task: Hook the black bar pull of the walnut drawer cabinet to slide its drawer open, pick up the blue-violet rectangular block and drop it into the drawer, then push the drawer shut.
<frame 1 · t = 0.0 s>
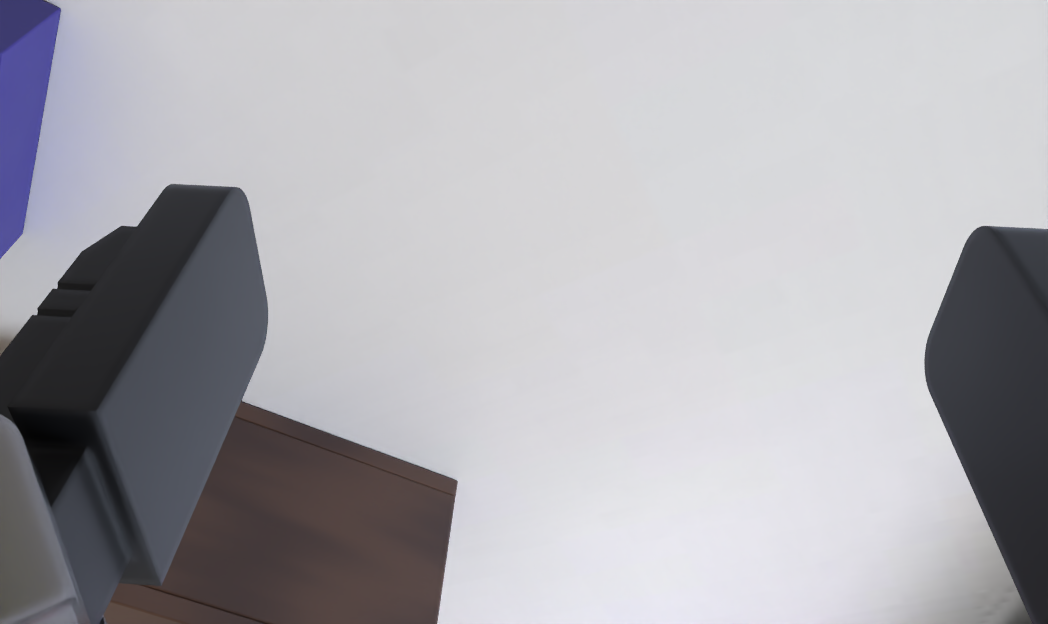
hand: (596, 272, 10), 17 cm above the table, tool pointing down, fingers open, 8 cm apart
cabinet: (235, 517, 41), on the table
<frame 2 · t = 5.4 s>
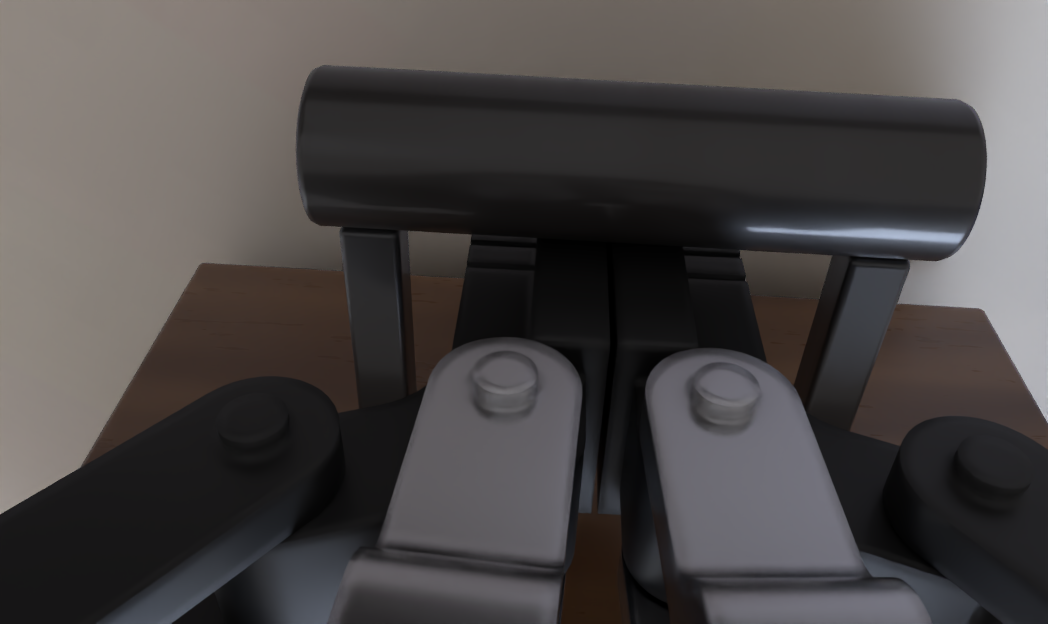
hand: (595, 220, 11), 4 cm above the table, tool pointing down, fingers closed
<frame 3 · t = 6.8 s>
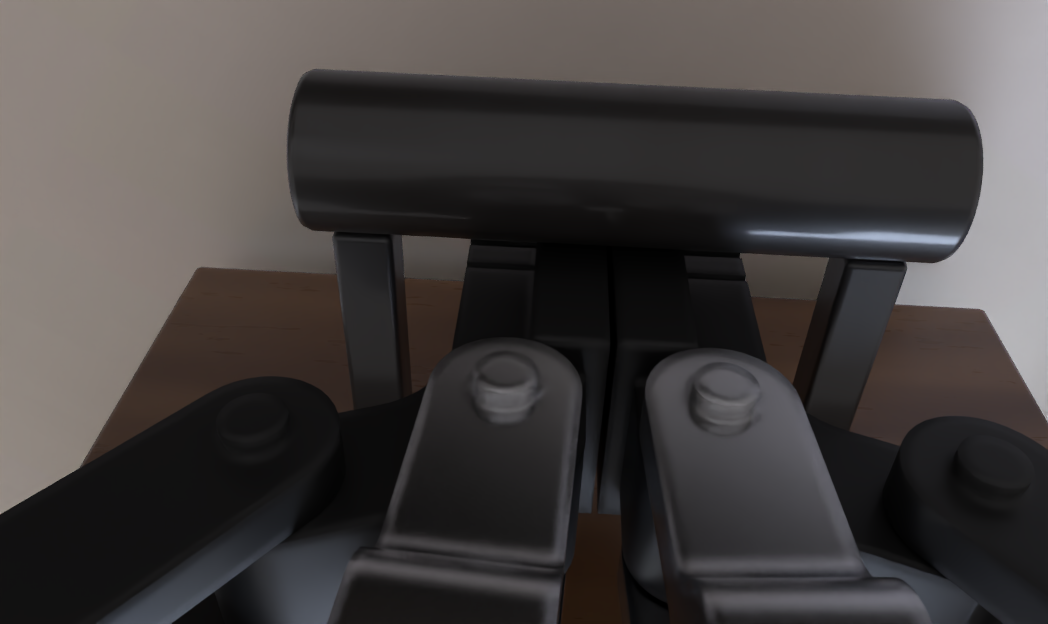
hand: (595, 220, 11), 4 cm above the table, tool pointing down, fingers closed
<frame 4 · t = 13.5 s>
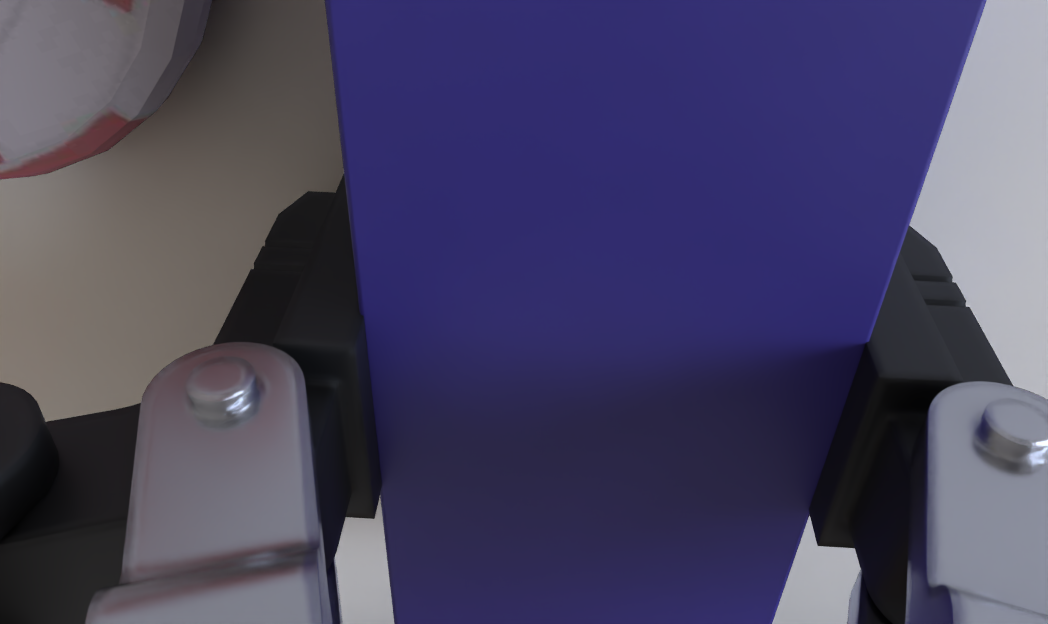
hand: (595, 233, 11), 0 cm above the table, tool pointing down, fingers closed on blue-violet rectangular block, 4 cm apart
blue-violet rectangular block: (597, 218, 11), on the table, touching gripper
when the fingers open (5 cm above the table, at t = 21.1 s): blue-violet rectangular block drops 3 cm, resting on drawer.
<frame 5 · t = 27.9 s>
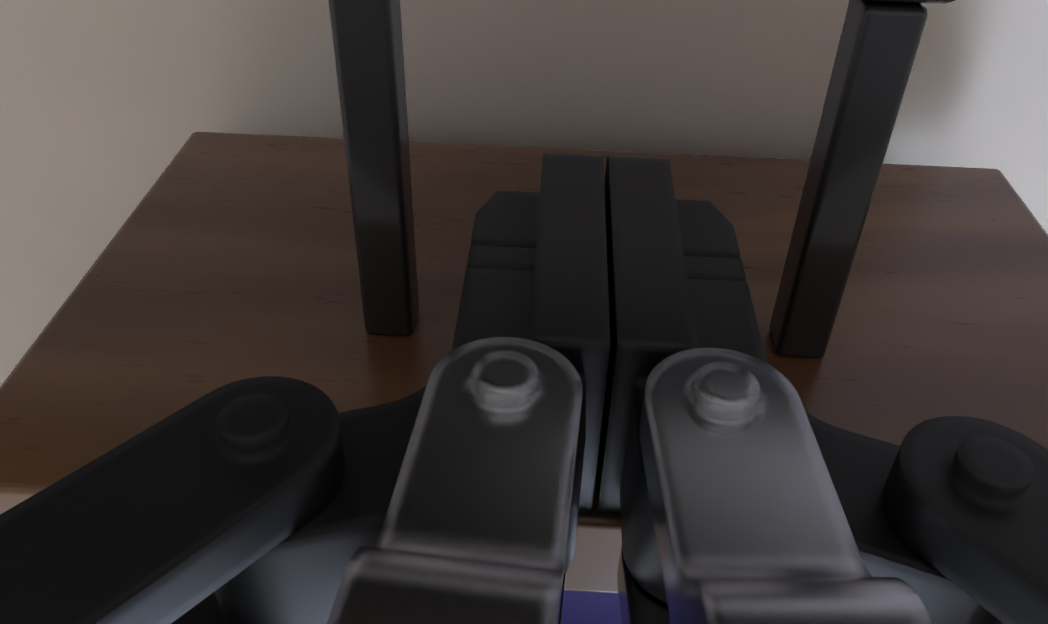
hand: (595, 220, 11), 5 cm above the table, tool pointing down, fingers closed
drawer: (573, 504, 15), point 5 cm above the table, slide at 10.4 cm, touching blue-violet rectangular block
blue-violet rectangular block: (568, 460, 18), point 2 cm above the table, touching drawer
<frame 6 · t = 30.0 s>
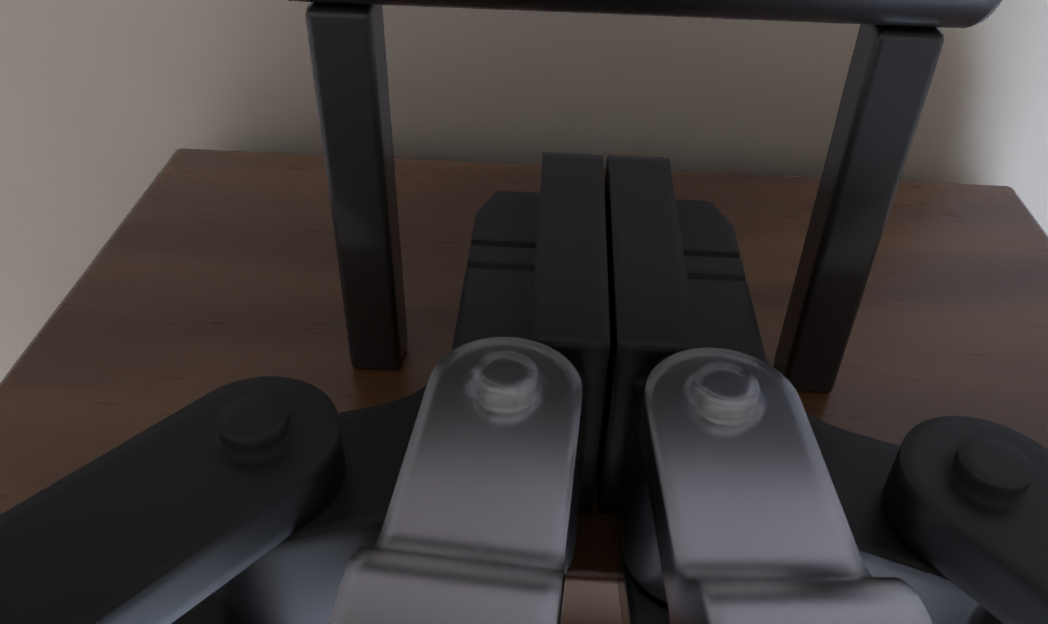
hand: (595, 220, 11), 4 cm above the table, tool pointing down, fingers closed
drawer: (570, 534, 14), point 5 cm above the table, slide at 0.8 cm, touching gripper, hand, blue-violet rectangular block
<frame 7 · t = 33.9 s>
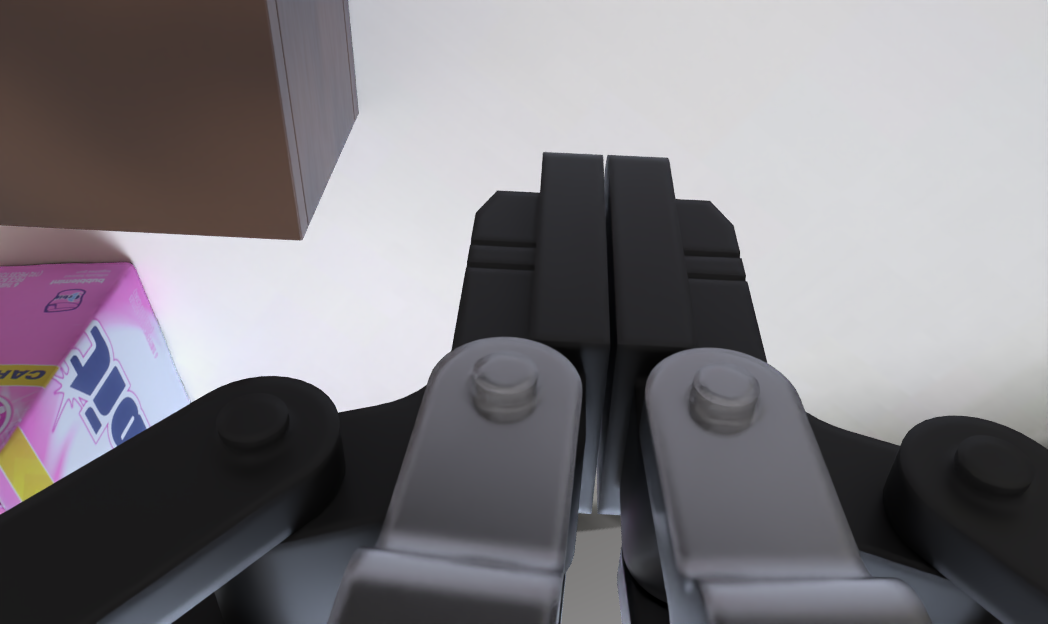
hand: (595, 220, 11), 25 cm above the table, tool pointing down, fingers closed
gum box: (136, 423, 50), on the table
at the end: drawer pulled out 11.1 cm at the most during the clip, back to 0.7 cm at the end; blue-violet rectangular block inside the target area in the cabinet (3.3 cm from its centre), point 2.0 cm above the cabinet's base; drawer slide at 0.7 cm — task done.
